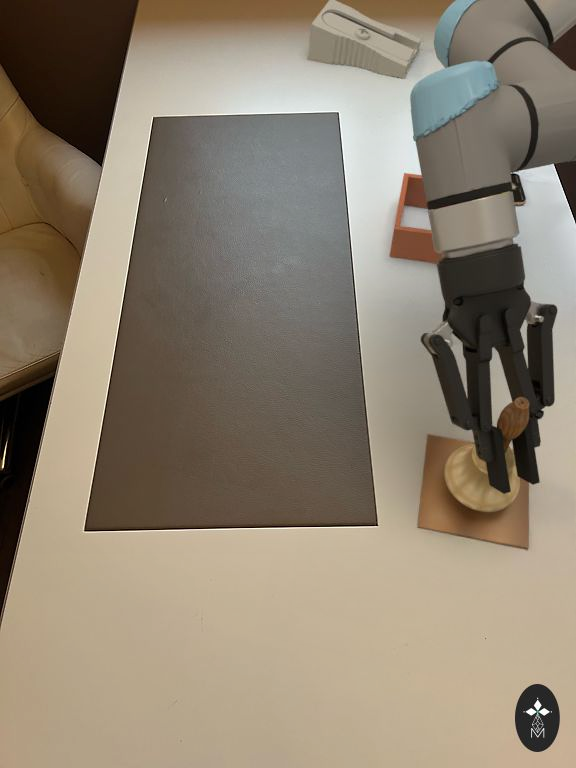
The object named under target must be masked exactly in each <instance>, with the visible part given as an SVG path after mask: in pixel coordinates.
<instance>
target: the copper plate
mask: <svg viewBox="0 0 576 768" xmlns="http://www.w3.org/2000/svg"><path fill="white" fill-rule="evenodd" d="M469 444H475V443H474V441H467V440H462V439H458V438H452V437H445V436H440V435H435V434H430V433H429V434H427V435H426V445H425V454H424V462H423V472H422V481H421V488H420V489H421V491H420V500H419V509H418V518H417V528H419V529H424V530H429V531H434V532H439V533H444V534H450V535H454V536H458V537H465V538H469V539H474V540H479V541H483V542H490V543H493V544H499V545H502V546H503V545H504V546H509V547H513V548H518V549H524V550H528V549H530V548H529V546H530V537H529V536H530V522H529V521H530V483H529V482H527V481H525V480H523V479H521V478H520V477H519V478H520V489H519V493H518V495H517V497H516V499H515V500H514V501H513V502H512V503H511V504H510V505H509V506H508V507H506V508H504V509H502V510H499V511H495V512H481V511H477V510H473V509H471V508H469V507H466V506H465V505H463V504H462V503H461V502H459V501H458V500H457V499H456V498H455V497H454V496H453V495H452V493H451V492H450V490H449V489H448V487H447V484H446V481H445V476H444V470H445V464H446V462H447V460H448V458H449V456H450V455H451V454H452V453H453V452H454V451H455V450H456V449H458V448H460V447H462V446H465V445H469ZM511 449H512V451H513V453H514V450H513V448H511ZM514 465H515V467H516V463H515V464H514Z"/></svg>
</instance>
